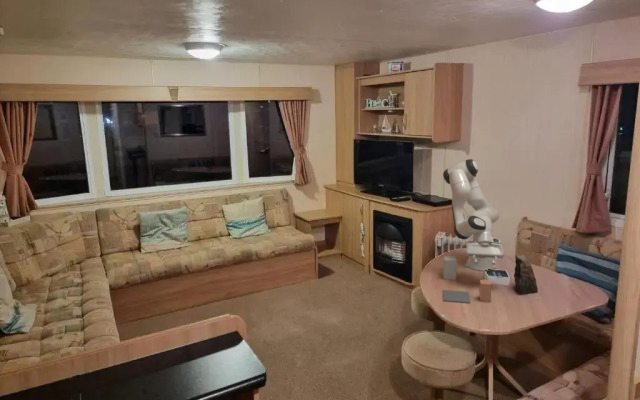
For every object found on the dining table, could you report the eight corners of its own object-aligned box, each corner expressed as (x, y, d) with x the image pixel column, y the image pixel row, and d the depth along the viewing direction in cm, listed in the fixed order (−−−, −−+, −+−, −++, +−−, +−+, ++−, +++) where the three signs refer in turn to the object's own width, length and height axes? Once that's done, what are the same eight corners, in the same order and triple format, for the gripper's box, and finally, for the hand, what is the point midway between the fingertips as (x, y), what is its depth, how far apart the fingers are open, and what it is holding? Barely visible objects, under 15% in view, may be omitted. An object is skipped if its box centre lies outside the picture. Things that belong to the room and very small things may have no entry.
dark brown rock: (519, 295, 240) (522, 261, 236) (504, 286, 252) (506, 254, 248) (538, 292, 243) (541, 259, 239) (523, 284, 255) (525, 251, 251)
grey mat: (443, 290, 250) (443, 289, 249) (468, 292, 246) (468, 291, 246) (443, 301, 236) (443, 300, 236) (470, 303, 233) (470, 302, 233)
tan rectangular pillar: (479, 296, 240) (480, 279, 238) (489, 297, 239) (490, 280, 237) (480, 300, 235) (480, 283, 233) (490, 301, 234) (491, 284, 232)
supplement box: (456, 280, 264) (457, 260, 261) (443, 279, 265) (444, 260, 263) (455, 275, 271) (455, 256, 268) (442, 275, 273) (443, 256, 270)
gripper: (466, 238, 252) (465, 259, 245) (503, 240, 246) (504, 262, 239) (465, 243, 258) (465, 264, 250) (502, 245, 251) (503, 267, 244)
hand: (484, 263), depth 245 cm, fingers open, 8 cm apart
